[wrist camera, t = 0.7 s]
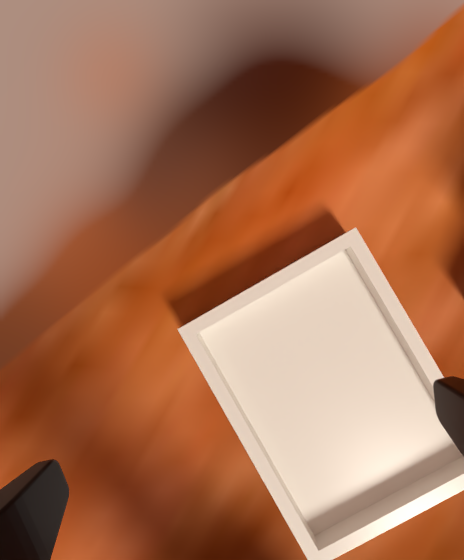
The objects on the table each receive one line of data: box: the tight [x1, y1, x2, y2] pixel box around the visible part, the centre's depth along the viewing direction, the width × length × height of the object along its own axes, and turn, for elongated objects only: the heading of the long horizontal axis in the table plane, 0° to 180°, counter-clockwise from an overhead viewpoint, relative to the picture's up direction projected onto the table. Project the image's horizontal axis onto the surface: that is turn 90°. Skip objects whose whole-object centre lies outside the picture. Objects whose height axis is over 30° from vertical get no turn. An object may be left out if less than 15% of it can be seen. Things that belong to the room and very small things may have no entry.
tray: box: [178, 228, 464, 560], centre depth 21 cm, size 16×12×2 cm
